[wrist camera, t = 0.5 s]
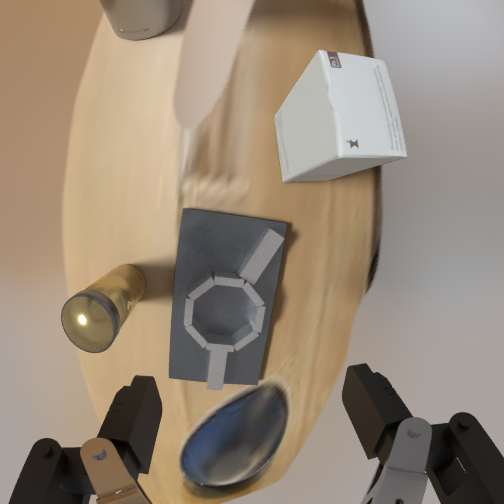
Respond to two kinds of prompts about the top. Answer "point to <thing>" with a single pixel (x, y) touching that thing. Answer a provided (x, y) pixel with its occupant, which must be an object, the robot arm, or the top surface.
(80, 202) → the top surface
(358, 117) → the skincare box
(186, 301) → the socket base
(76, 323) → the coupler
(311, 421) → the top surface
